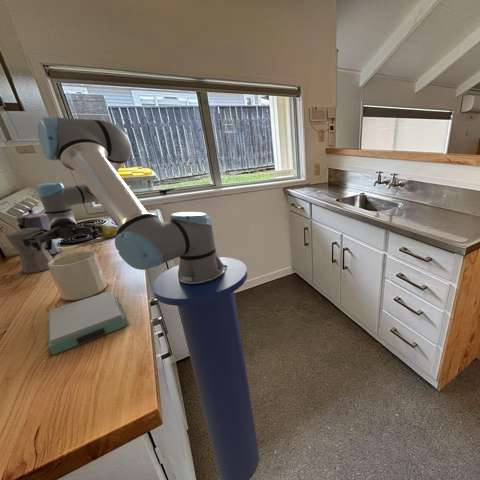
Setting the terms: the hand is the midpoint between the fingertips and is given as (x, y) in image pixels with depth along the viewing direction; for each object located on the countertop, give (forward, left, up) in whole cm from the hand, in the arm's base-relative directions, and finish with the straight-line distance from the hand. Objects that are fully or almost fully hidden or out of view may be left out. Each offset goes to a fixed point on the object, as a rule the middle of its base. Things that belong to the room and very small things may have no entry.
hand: (67, 240), depth 84 cm
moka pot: (+9, -44, -15) cm, 48 cm away
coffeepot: (+10, -26, -15) cm, 32 cm away
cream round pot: (0, +10, -15) cm, 18 cm away
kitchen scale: (+1, +31, -15) cm, 34 cm away
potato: (-13, -52, -15) cm, 56 cm away
